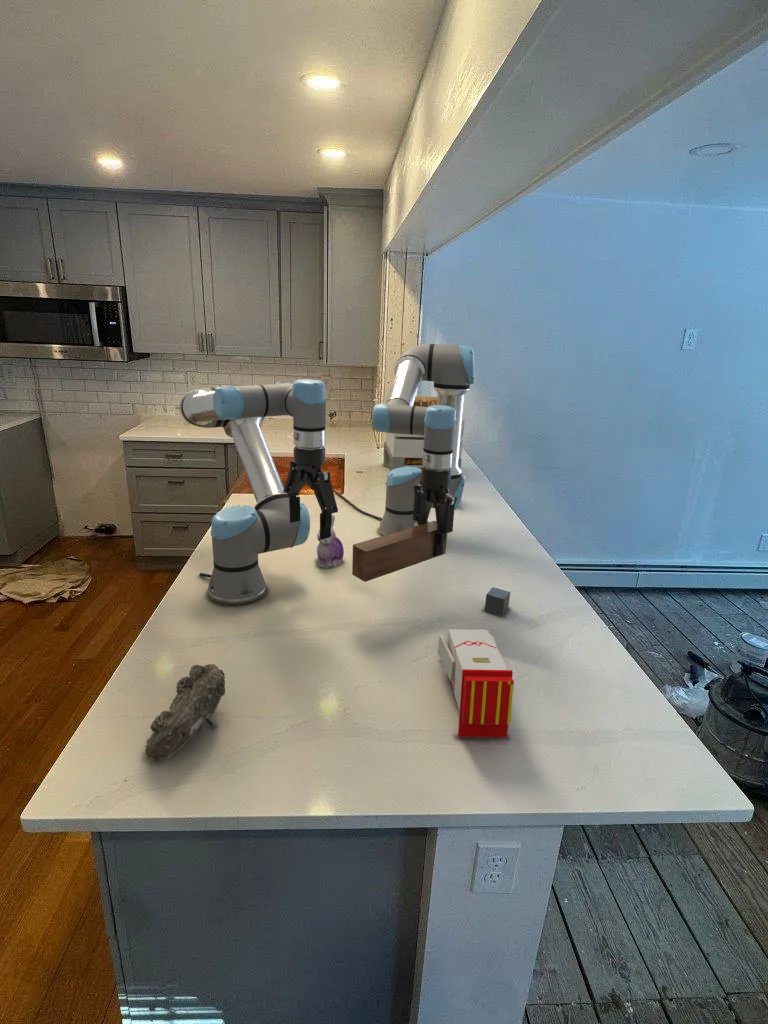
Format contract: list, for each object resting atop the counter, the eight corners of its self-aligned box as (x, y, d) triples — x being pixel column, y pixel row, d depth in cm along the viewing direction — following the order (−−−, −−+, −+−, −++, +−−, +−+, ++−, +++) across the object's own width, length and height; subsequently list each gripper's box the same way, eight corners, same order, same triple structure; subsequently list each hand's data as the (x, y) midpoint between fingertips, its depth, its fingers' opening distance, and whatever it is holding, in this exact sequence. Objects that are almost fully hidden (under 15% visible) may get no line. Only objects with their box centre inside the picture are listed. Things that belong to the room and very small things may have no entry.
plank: (352, 574, 139) (352, 544, 136) (432, 547, 156) (434, 520, 154) (364, 582, 135) (365, 551, 133) (445, 553, 153) (448, 526, 150)
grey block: (484, 610, 151) (486, 594, 149) (490, 603, 155) (492, 586, 153) (502, 616, 149) (504, 599, 147) (508, 608, 153) (510, 591, 151)
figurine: (321, 571, 169) (321, 524, 164) (309, 557, 177) (309, 512, 172) (350, 565, 173) (351, 520, 168) (337, 553, 182) (338, 509, 177)
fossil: (174, 665, 116) (226, 633, 111) (207, 696, 118) (259, 665, 113) (119, 753, 96) (179, 718, 91) (161, 787, 99) (221, 755, 94)
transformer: (382, 463, 289) (386, 382, 275) (445, 464, 293) (451, 384, 279) (390, 482, 257) (394, 392, 243) (460, 483, 261) (468, 394, 247)
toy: (488, 613, 130) (523, 677, 101) (484, 667, 133) (517, 744, 104) (435, 612, 130) (455, 676, 101) (432, 666, 133) (451, 743, 103)
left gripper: (268, 438, 141) (271, 517, 149) (326, 460, 124) (326, 549, 131) (294, 435, 146) (295, 512, 153) (354, 455, 128) (351, 542, 136)
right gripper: (401, 461, 148) (397, 543, 156) (452, 478, 135) (445, 566, 143) (422, 457, 153) (417, 537, 161) (473, 474, 140) (464, 559, 148)
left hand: (309, 529), depth 142 cm, fingers open, 13 cm apart
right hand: (430, 551), depth 152 cm, fingers closed on plank, 5 cm apart
